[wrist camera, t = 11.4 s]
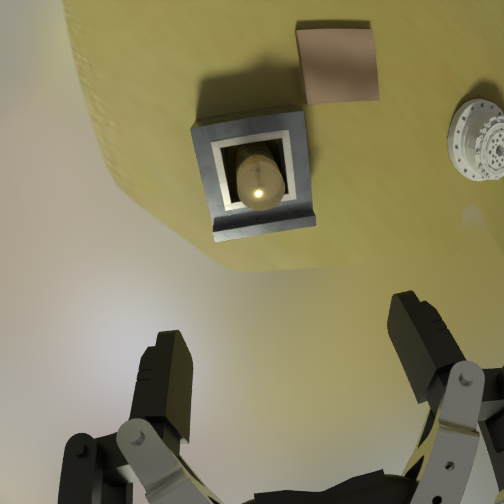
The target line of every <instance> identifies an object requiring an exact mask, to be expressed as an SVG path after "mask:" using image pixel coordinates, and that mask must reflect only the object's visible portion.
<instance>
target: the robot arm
mask: <svg viewBox="0 0 504 504" xmlns="http://www.w3.org/2000/svg"><path fill="white" fill-rule="evenodd" d="M387 329H388V334H389V337H390V339H391V341H392V343H393V345H394V347H395V350H396V352H397V354H398V356H399V359H400V361H401V363H402V366H403V368H404V370H405V373H406V375H407V377H408V380H409V382H410V385H411V387H412V389H413V392H414V394H415V397H416V399H417V402H418V404H419V403H423V402H425V401H428V403H429V406H430V407H429V410H428V412H427V416H426V419H425V422H424V425H423V427H422V430H421V433H420V436H419V439H418V442H417V444H416V447H415V449H414V452H413V454H412V455H411V457H410V459H409V461H408V463H407V465H406V467H405V469H404V471H403V474H402V476H399V475H391V474H384V472H383V469H382V470H379V471H375V472H372V473H368V474H364V475H360V476H356V477H352V478H350V479H348V480H346V481H344V482H342V483H340V484H338V485H336V486H334V487H331V488H329V489H327V490H325V491H322V492H307V491H293V490H283V491H275V492H265V493H255V494H254V498H255V499H252V500H249V501H247V502H245V503H242V504H460V502H461V499H462V496H463V494H464V491H465V488H466V485H467V482H468V479H469V475H470V472H471V469H472V466H473V462H474V458H475V455H476V451H477V447H478V442H479V437H480V435H479V432H477V431H476V426H477V421H478V424H479V427H480V430H481V432H482V435H483V438H484V441H485V444H486V447H487V450H488V453H489V456H490V459H491V463H492V466H493V470H494V473H495V477H496V480H497V483H498V488H499V494H498V495H497V497H496V499H495V503H494V504H504V366H503V367H502V368H495V369H481V367H480V366H478V365H477V364H476V363H474V362H471V361H467V360H466V359H465V357H464V355H463V353H462V352H461V350H460V348H459V346H458V345H457V343H456V341H455V340H454V338H453V336H452V334H451V333H450V331H449V330H448V329H447V326H446V325H445V323H444V321H442V318H441V316H440V315H439V313H438V311H437V310H436V309H435V308H434V307H433V306H432V305H430V304H429V303H428V302H427V301H423V302H420V301H419V299H418V298H417V296H416V295H415V293H414V292H413V291H411V290H410V291H406V292H401V293H397V294H394V295H393V296H392V300H391V305H390V310H389V316H388V321H387ZM192 379H193V361H192V357H191V354H190V352H189V350H188V347H187V345H186V343H185V341H184V339H183V337H182V334H181V332H180V331H179V330H172V331H163V332H159V333H158V335H157V340H156V345H155V346H152V347H148V348H147V349H146V351H145V352H144V354H143V355H142V357H141V360H140V365H139V372H138V375H137V382H136V385H135V391H134V396H133V402H132V407H131V413H130V417H129V420H128V421H126V422H125V423H124V424H122V425H121V427H120V428H119V430H118V432H116V433H113V434H110V435H107V436H103V437H99V438H95V439H94V438H93V437H91V436H90V435H88V434H86V433H78V434H75V435H74V436H72V437H71V438H70V439H69V440H68V442H67V443H66V446H65V451H64V457H63V463H62V470H61V477H60V486H59V494H58V504H133V503H132V502H133V482H135V481H140V482H141V484H142V485H143V487H144V488H145V490H146V494H145V496H146V498H147V500H148V502H149V503H150V504H224V503H223V502H222V501H221V500H220V499H219V498H218V497H217V496H216V495H215V494H214V493H213V492H212V491H211V490H210V489H209V488H208V487H207V486H206V485H205V484H204V483H203V482H202V481H201V479H200V478H199V477H198V476H197V475H196V473H195V472H194V471H193V470H192V469H191V467H190V466H189V465H188V464H187V462H186V461H185V460H184V459H183V458H182V456H181V455H180V454H179V451H180V444H189V435H190V414H191V396H192Z"/></svg>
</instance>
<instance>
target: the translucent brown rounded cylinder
mask: <svg viewBox="0 0 504 504" xmlns="http://www.w3.org/2000/svg"><path fill="white" fill-rule="evenodd" d="M236 175H237V191H238V196H239V199H240V200H241V202H242V203H243V204H244V205H245V206H246V207H248V208H250V209H252V210H257V211H264V210H269V209H271V208H273V207H275V206H276V205H277V204H278V203H279V202H280V201H281V200H282V198H283V196H284V193H285V183H284V180H283V178H282V176H281V173H280V171H279V169H278V166H277V164H276V162H275V160H274V157H273V155H272V153H271V151H270V149H269V147H268V146H267V145H266V144H265V143H263V142H261V141H257V142H251V143H245V144H242V145H241V146H240V147H239V148H238V150H237V152H236Z"/></svg>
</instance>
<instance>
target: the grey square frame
mask: <svg viewBox="0 0 504 504" xmlns="http://www.w3.org/2000/svg"><path fill="white" fill-rule="evenodd" d="M190 130H191V135H192V139H193V144H194V148H195V153H196V157H197V161H198V166H199V170H200V174H201V179H202V183H203V187H204V191H205V195H206V200H207V204H208V208H209V212H210V216H211V220H212V224H213V236H214V240H215V242H219V241H225V240H231V239H237V238H243V237H249V236H255V235H261V234H267V233H273V232H279V231H286V230H292V229H298V228H304V227H311V226H316V216H315V214H314V212H313V204H312V191H311V179H310V167H309V157H308V146H307V136H306V127H305V118H304V111H303V110H302V109H300V108H299V107H297V106H296V105H287V106H279V107H271V108H264V109H257V110H250V111H244V112H238V113H232V114H227V115H221V116H216V117H211V118H206V119H201V120H196V121H195V122H194V124H193V125H192V127H191V129H190ZM270 139H277V143H278V150H279V158H280V166H281V173H282V178H283V180H284V183H285V193H284V196H283V198H282V200H281V201H280V202H279V203H278V204H277V205H276V206H275V207H273V208H271V209H269V210H264V211H257V210H252V209H250V208H248V207H246V206H245V205H244V204H243V203H242V202H241V200H240V199H239V196H238V191H237V185H233V186H231V183H230V178H229V173H228V168H227V163H226V158H225V153H224V148H223V147H228V146H233V145H239V144H245V143H251V142H257V141H264V140H270Z"/></svg>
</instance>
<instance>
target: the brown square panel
mask: <svg viewBox="0 0 504 504" xmlns="http://www.w3.org/2000/svg"><path fill="white" fill-rule="evenodd" d="M295 35H296V42H297V48H298V55H299V62H300V69H301V76H302V84H303V91H304V100H305V104H307V105H311V104H322V103H335V102H351V101H375V100H379V88H378V76H377V65H376V55H375V46H374V38H373V30H372V29H308V30H296V31H295Z"/></svg>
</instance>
